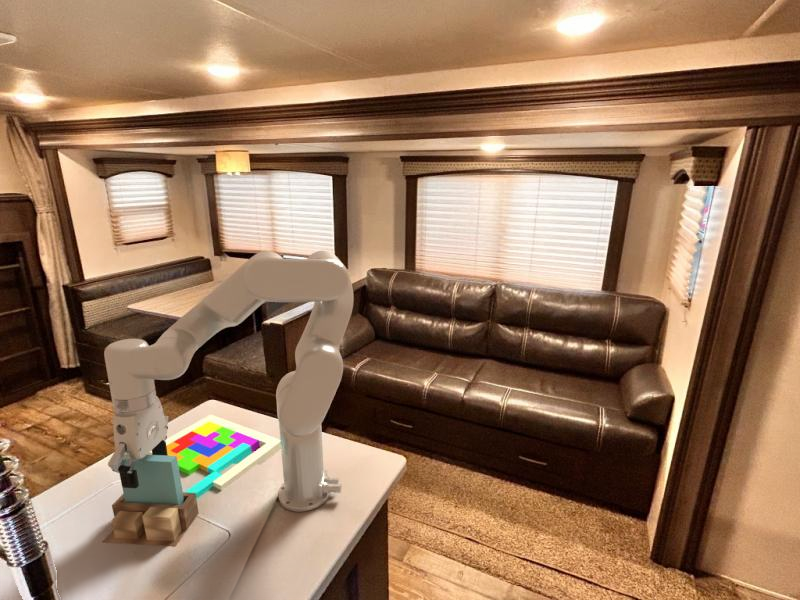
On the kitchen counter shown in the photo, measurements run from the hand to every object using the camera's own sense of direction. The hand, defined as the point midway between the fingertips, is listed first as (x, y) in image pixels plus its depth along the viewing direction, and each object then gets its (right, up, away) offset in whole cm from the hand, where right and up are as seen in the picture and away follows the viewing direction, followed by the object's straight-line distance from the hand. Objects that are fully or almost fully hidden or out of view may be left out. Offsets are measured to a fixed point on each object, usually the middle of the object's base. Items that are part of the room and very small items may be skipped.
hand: (146, 471), depth 89 cm
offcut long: (+4, -13, -1) cm, 14 cm away
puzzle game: (0, -8, +25) cm, 26 cm away
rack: (0, -14, +2) cm, 14 cm away
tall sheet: (+1, -12, +4) cm, 13 cm away
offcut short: (-3, -13, 0) cm, 14 cm away
